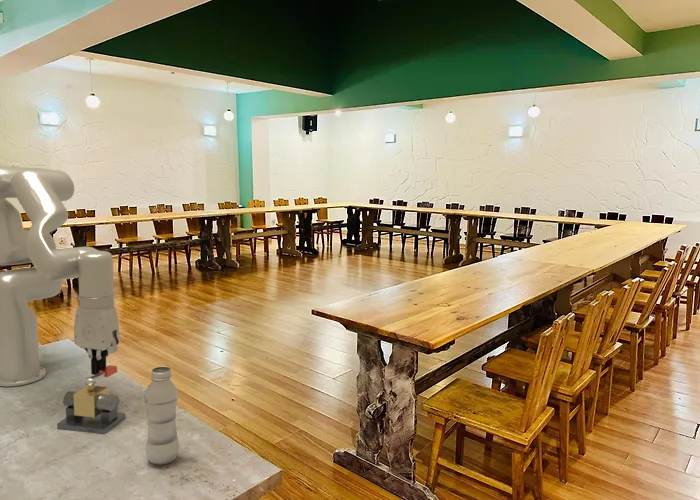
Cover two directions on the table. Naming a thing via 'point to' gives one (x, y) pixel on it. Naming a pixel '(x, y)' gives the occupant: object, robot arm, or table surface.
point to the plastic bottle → (161, 417)
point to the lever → (101, 374)
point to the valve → (91, 410)
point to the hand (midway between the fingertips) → (98, 372)
